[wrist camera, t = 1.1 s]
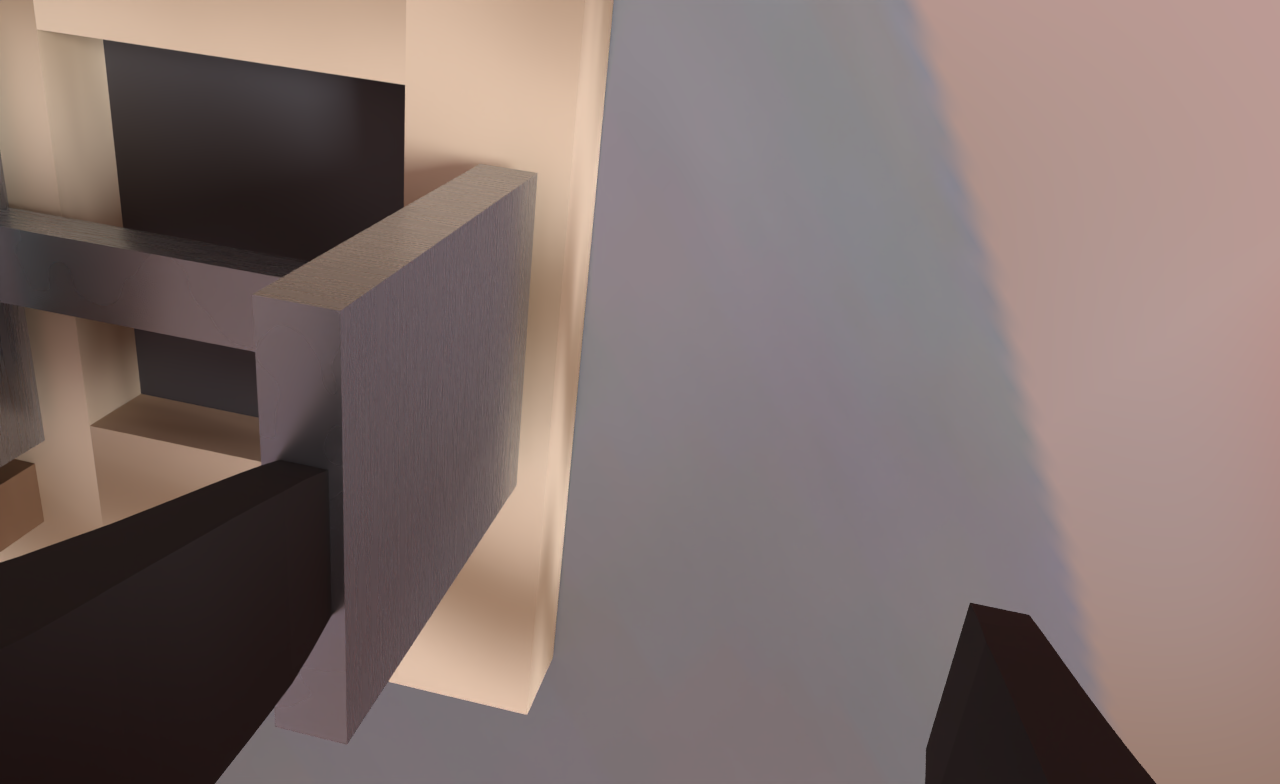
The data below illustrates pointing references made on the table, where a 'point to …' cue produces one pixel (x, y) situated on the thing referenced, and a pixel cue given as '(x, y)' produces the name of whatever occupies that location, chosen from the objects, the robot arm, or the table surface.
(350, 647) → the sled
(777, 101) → the table surface
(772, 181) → the table surface
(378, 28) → the deck
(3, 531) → the tunnel
